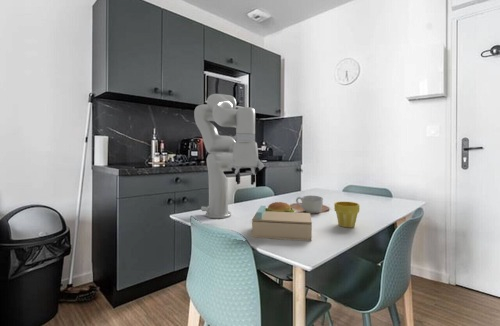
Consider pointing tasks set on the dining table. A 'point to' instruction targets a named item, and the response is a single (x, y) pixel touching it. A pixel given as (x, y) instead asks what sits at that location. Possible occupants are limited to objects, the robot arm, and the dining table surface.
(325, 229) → the dining table surface
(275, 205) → the food
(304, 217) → the lid
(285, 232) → the box
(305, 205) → the teacup
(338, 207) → the plant pot
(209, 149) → the robot arm
